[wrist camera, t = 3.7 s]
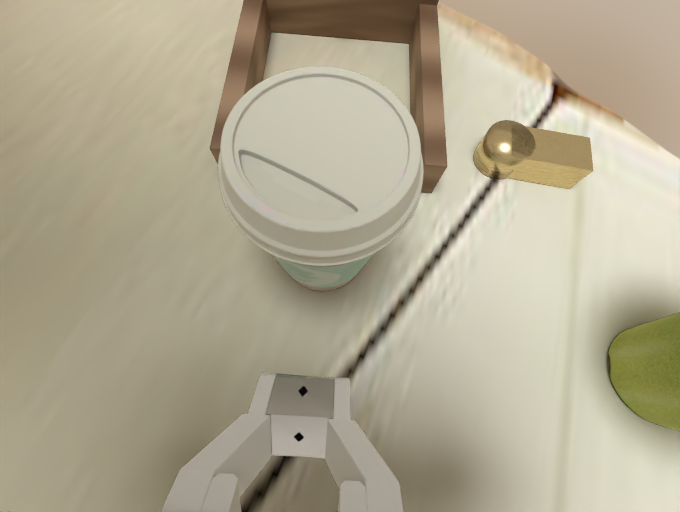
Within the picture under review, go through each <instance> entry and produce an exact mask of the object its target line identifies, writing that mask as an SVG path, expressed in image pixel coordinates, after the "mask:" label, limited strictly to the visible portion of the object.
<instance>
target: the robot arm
mask: <svg viewBox="0 0 680 512" xmlns="http://www.w3.org/2000/svg"><path fill="white" fill-rule="evenodd" d="M271 455H273V456H301V457H313V458H324V459H325V461H326V464H327V466H328V468H329V470H330V472H331V474H332V476H333V478H334V480H335V482H336V485H337V487H338V489H339V491H340V493H339V501H338V510H337V512H403V505H402V498H401V491H400V484H399V481H398V480H397V478H396V477H395V476H394V474H393V473H392V471H391V470H390V469H389V467H388V466H387V464H386V463H385V462H384V460H383V459H382V457H381V456H380V455H379V453H378V452H377V450H376V449H375V447H374V446H373V445H372V443H371V442H370V440H369V439H368V438H367V436H366V435H365V433H364V432H363V431H362V429H361V428H360V426H359V425H358V424H357V422H356V421H355V420H351V406H350V379H349V378H336V377H335V378H334V377H317V376H298V375H287V374H272V373H261V375H260V376H259V379H258V382H257V386H256V389H255V392H254V395H253V398H252V401H251V405H250V408H249V411H248V414H242V415H241V416H240V417H239V418H238V419H236V420H235V421H234V422H233V423H232V424H231V425H230V426H228V427H227V428H226V429H225V430H224V431H223V432H222V433H221V434H219V435H218V436H217V437H216V438H215V439H214V440H213V441H211V442H210V443H209V444H208V445H207V446H206V447H205V448H204V449H202V450H201V451H200V452H199V453H198V454H197V455H196V456H195V457H193V458H192V459H191V460H190V461H189V462H188V463H187V464H185V465H184V466H183V467H182V468H181V469H180V471H179V473H178V475H177V477H176V479H175V482H174V484H173V486H172V488H171V490H170V493H169V495H168V497H167V499H166V501H165V504H164V506H163V508H162V510H161V512H241V504H240V497H241V496H242V495H243V493H244V492H245V491H246V489H247V488H248V487H249V486H250V484H251V483H252V482H253V480H254V479H255V478H256V477H257V475H258V474H259V473H260V471H261V470H262V469H263V468H264V466H265V465H266V464H267V462H268V461H269V460H270V459H271ZM0 512H10V511H0Z"/></svg>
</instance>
